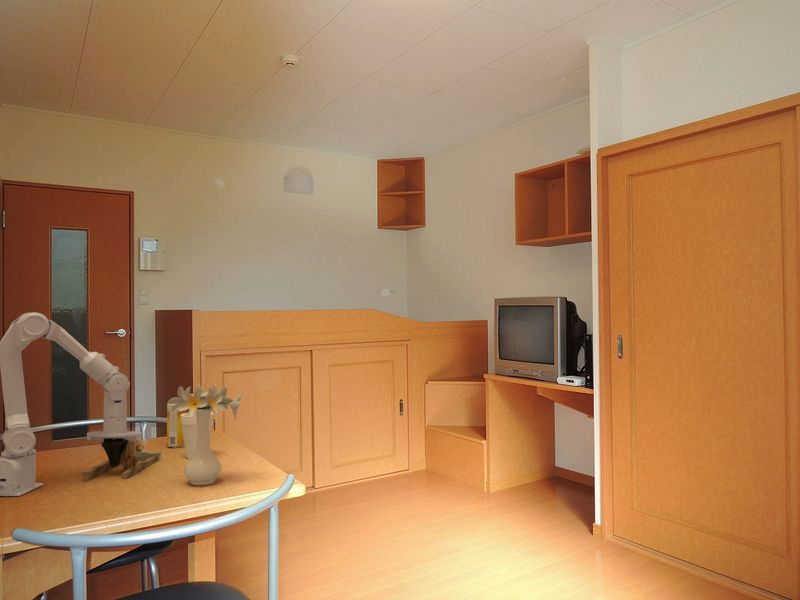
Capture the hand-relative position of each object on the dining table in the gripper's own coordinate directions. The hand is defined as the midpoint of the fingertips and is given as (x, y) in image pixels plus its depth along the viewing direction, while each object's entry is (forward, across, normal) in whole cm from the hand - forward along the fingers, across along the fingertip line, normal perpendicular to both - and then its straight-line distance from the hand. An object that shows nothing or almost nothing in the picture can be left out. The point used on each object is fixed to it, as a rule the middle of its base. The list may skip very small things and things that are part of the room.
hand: (114, 466), depth 159 cm
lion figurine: (+2, -1, -8) cm, 8 cm away
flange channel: (+2, 0, -5) cm, 5 cm away
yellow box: (+2, -3, -34) cm, 34 cm away
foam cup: (+2, -15, -20) cm, 25 cm away
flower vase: (+2, -27, +6) cm, 28 cm away
